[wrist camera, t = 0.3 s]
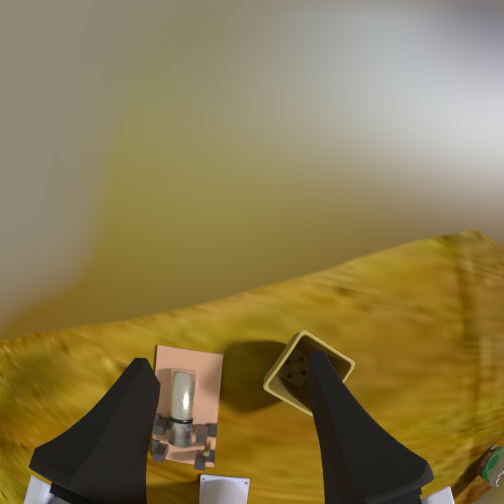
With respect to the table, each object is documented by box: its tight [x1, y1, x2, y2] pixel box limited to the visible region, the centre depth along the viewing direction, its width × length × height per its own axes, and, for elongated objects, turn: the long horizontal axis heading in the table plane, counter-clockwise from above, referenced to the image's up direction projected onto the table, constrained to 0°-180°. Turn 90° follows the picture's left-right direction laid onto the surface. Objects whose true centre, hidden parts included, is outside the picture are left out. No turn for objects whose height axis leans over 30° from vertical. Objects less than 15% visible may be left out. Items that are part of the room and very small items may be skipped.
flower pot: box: [263, 330, 355, 417], centre depth 34 cm, size 9×9×9 cm
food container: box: [476, 446, 504, 486], centre depth 27 cm, size 12×6×10 cm, turn 156°
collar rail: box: [152, 413, 217, 470], centre depth 32 cm, size 7×10×4 cm
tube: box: [168, 368, 197, 448], centre depth 34 cm, size 12×4×4 cm, turn 174°
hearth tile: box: [153, 345, 224, 467], centre depth 35 cm, size 20×10×1 cm, turn 174°
